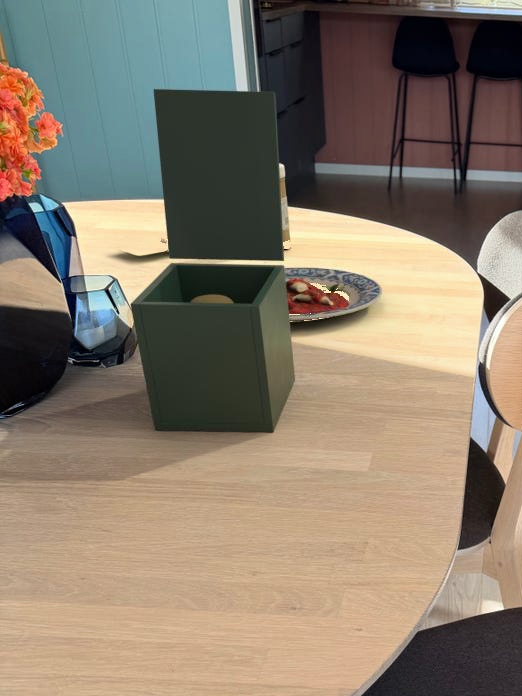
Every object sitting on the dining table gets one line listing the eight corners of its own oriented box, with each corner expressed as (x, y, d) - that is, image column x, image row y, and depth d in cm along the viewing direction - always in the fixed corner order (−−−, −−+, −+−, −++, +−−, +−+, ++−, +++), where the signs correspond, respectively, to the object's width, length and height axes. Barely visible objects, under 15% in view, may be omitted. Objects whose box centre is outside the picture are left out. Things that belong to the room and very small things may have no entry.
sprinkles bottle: (274, 244, 167) (266, 161, 159) (296, 246, 166) (289, 163, 158) (260, 249, 164) (251, 165, 156) (283, 252, 163) (275, 167, 155)
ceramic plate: (226, 342, 124) (223, 320, 122) (191, 290, 143) (188, 270, 141) (407, 322, 133) (407, 300, 131) (352, 275, 151) (351, 256, 150)
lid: (274, 91, 99) (275, 93, 100) (153, 88, 99) (155, 90, 99) (283, 260, 105) (284, 261, 106) (169, 258, 105) (171, 258, 105)
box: (273, 432, 101) (259, 306, 93) (154, 430, 100) (130, 304, 92) (295, 379, 113) (284, 265, 106) (189, 377, 113) (170, 262, 105)
